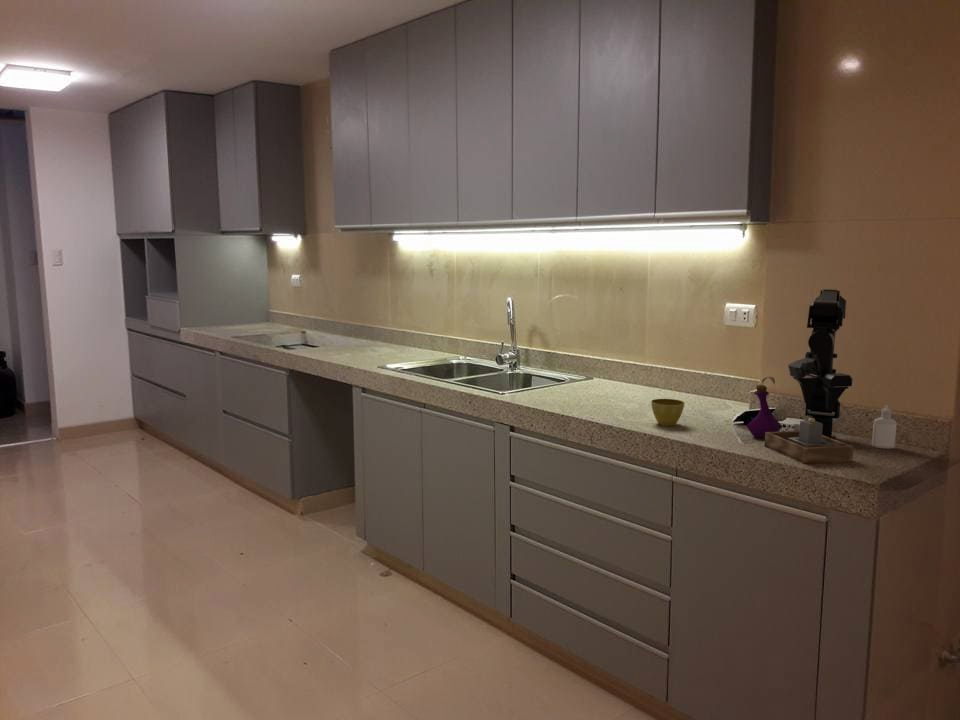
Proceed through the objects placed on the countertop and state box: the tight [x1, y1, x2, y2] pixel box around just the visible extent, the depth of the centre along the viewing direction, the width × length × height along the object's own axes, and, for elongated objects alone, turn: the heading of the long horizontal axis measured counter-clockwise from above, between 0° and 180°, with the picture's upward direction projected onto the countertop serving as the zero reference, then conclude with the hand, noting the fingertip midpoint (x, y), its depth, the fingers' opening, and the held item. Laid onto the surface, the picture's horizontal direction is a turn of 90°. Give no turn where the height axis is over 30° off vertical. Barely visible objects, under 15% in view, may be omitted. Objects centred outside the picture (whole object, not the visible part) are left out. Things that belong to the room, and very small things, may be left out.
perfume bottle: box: [746, 376, 783, 440], centre depth 225 cm, size 8×8×18 cm
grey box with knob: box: [798, 417, 823, 444], centre depth 206 cm, size 4×4×9 cm
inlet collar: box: [788, 437, 833, 448], centre depth 207 cm, size 8×8×3 cm
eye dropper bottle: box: [871, 404, 898, 450], centre depth 215 cm, size 4×6×12 cm
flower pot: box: [650, 398, 685, 427], centre depth 241 cm, size 10×10×7 cm
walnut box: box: [764, 430, 854, 464], centre depth 208 cm, size 18×14×4 cm
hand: (817, 407), depth 206 cm, fingers open, 9 cm apart
